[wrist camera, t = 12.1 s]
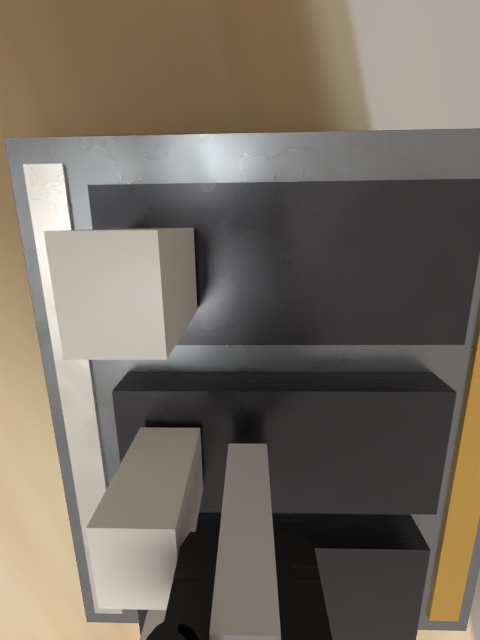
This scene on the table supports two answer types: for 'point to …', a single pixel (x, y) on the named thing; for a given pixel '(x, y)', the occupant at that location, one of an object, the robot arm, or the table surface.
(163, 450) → the block
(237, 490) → the robot arm
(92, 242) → the block
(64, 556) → the table surface
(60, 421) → the panel
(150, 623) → the breaker far
